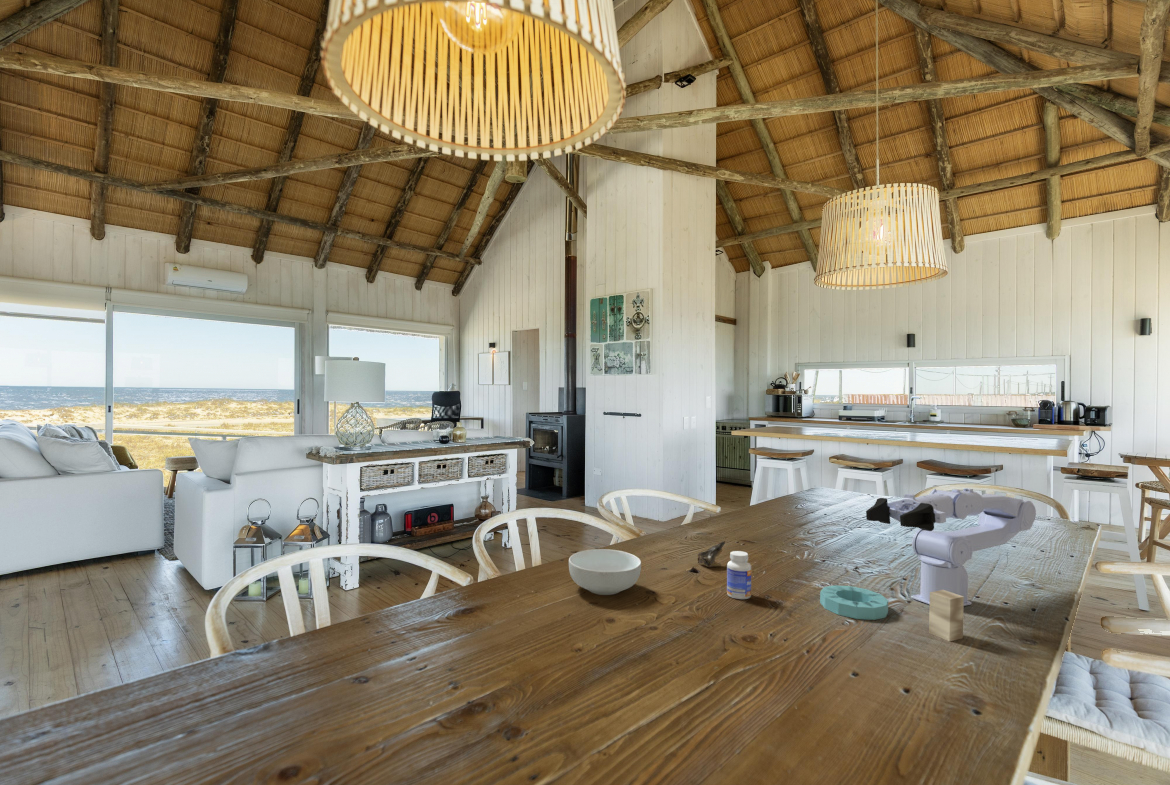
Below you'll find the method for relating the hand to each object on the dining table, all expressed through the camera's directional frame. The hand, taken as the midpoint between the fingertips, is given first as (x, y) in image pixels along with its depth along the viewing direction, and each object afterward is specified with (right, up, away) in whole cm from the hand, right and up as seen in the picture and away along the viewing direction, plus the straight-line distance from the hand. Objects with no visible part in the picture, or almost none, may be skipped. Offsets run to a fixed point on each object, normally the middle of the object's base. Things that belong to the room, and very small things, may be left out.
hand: (884, 518), depth 117 cm
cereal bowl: (-58, -20, +14) cm, 63 cm away
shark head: (-28, -20, +33) cm, 48 cm away
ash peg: (+7, -21, -8) cm, 24 cm away
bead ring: (-4, -21, +5) cm, 22 cm away
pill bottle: (-27, -20, +11) cm, 36 cm away
